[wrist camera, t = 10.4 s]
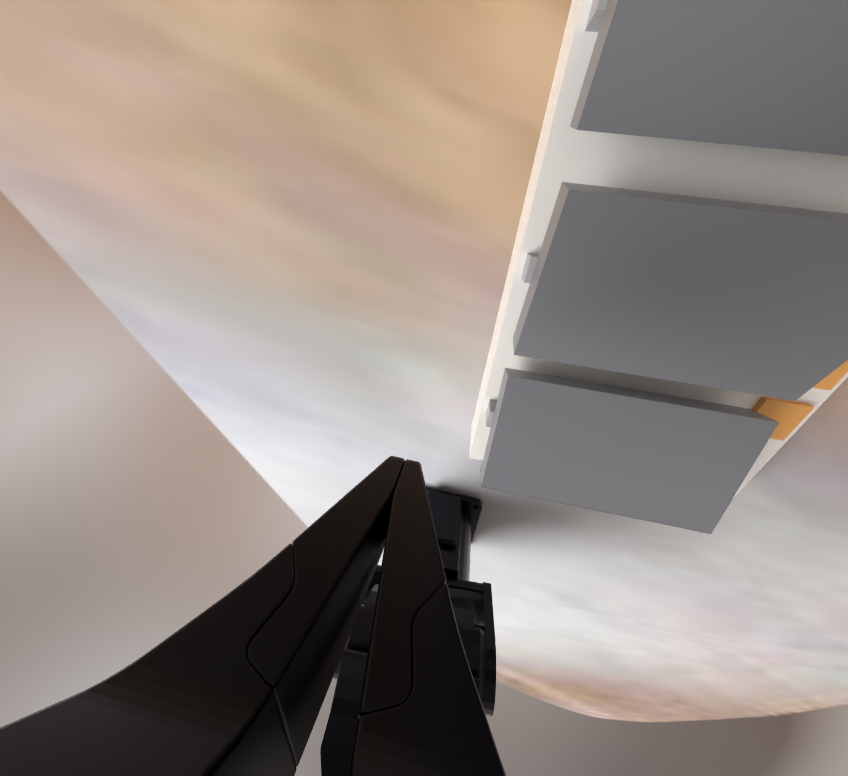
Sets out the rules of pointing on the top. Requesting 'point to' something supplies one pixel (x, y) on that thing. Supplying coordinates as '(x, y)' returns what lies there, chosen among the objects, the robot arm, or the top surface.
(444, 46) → the top surface
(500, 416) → the rocker
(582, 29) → the switch unit
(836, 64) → the plate
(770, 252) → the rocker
